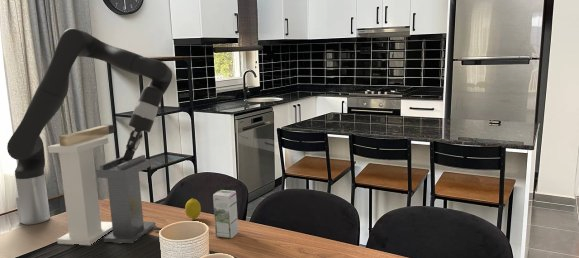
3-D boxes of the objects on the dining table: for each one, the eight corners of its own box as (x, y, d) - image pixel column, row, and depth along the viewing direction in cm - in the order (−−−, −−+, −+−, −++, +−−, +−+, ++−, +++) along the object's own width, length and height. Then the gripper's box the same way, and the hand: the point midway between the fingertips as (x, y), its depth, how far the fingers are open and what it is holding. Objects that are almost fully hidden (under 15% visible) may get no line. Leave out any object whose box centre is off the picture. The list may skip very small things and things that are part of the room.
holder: (103, 242, 139) (95, 165, 135) (129, 225, 154) (122, 154, 150) (132, 244, 137) (124, 165, 133) (155, 226, 152) (149, 155, 148)
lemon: (203, 216, 159) (201, 195, 158) (198, 222, 154) (197, 200, 152) (188, 216, 160) (187, 196, 158) (183, 222, 154) (182, 200, 153)
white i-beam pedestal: (57, 243, 140) (45, 146, 135) (89, 225, 155) (79, 137, 150) (90, 245, 137) (79, 146, 132) (119, 226, 153) (110, 137, 148)
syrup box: (239, 232, 143) (236, 190, 141) (231, 239, 138) (228, 195, 136) (223, 230, 145) (221, 188, 143) (215, 237, 140) (212, 194, 138)
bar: (60, 145, 135) (59, 136, 134) (106, 132, 158) (105, 124, 158) (68, 145, 134) (67, 136, 134) (114, 132, 157) (113, 124, 157)
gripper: (134, 114, 157) (118, 156, 155) (131, 111, 144) (113, 157, 142) (155, 121, 159) (139, 163, 157) (153, 118, 145) (136, 164, 143)
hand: (127, 160), depth 149 cm, fingers open, 8 cm apart
